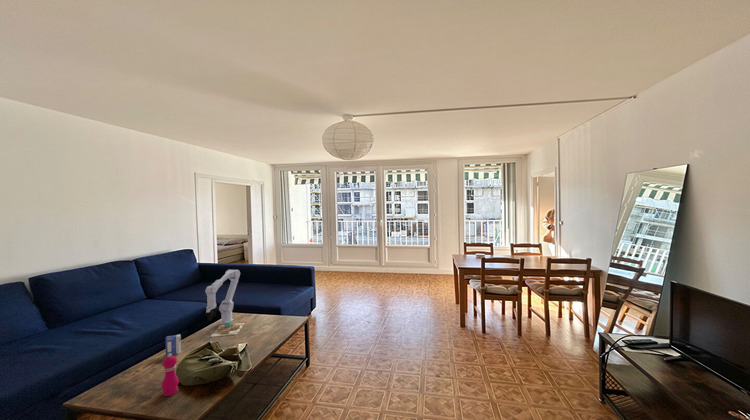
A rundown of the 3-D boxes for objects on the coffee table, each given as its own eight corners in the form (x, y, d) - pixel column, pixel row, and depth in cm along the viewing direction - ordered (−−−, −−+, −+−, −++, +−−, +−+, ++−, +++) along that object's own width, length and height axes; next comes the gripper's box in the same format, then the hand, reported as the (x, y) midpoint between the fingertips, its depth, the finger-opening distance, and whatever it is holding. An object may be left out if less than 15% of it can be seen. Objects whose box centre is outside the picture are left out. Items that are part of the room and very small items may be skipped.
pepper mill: (176, 386, 149) (175, 349, 149) (180, 391, 144) (180, 353, 144) (159, 393, 143) (159, 354, 143) (163, 399, 138) (163, 359, 138)
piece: (226, 328, 220) (226, 320, 220) (231, 327, 220) (231, 320, 220) (224, 330, 216) (224, 322, 216) (230, 330, 216) (229, 322, 216)
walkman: (165, 355, 181) (165, 337, 181) (167, 353, 183) (166, 335, 183) (179, 353, 183) (179, 335, 183) (181, 351, 186) (180, 333, 186)
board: (220, 326, 226) (220, 322, 226) (244, 324, 230) (244, 320, 230) (210, 337, 207) (210, 333, 207) (236, 334, 210) (236, 330, 210)
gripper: (209, 298, 225) (210, 315, 225) (201, 304, 211) (202, 322, 211) (219, 298, 226) (219, 314, 226) (212, 303, 212) (212, 321, 212)
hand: (211, 318), depth 219 cm, fingers open, 7 cm apart
